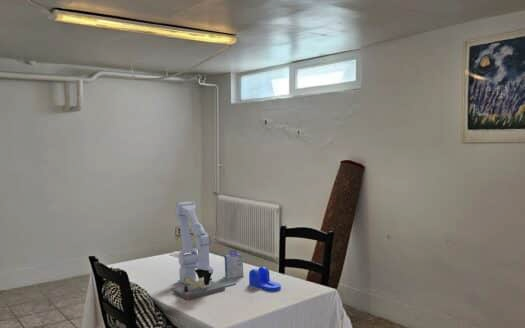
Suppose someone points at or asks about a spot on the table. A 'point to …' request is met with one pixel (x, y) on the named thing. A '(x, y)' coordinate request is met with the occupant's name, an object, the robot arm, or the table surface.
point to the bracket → (262, 280)
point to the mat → (226, 283)
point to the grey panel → (198, 291)
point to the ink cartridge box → (233, 265)
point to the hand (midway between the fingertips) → (204, 283)
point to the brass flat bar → (191, 283)
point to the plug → (203, 283)
